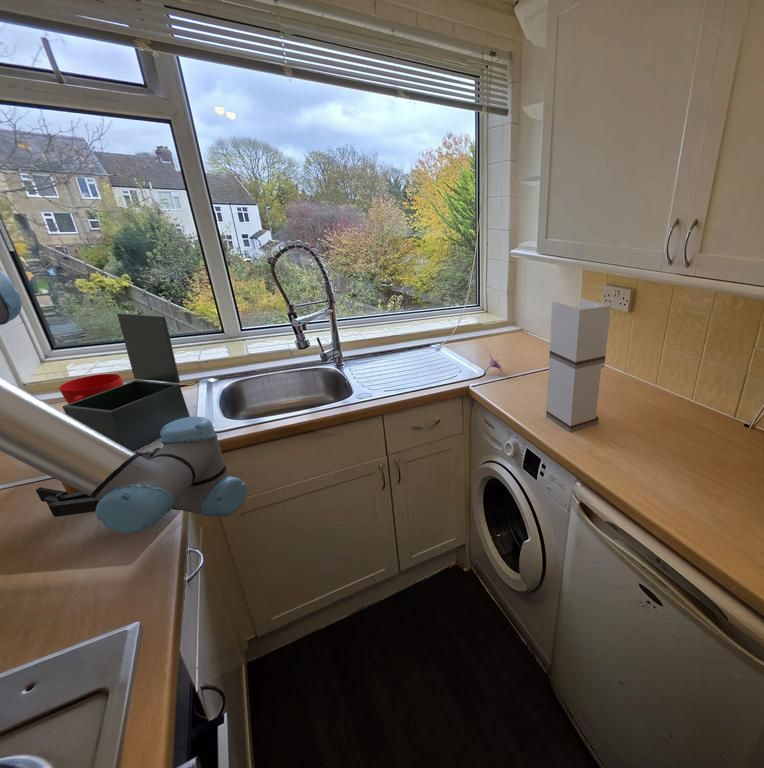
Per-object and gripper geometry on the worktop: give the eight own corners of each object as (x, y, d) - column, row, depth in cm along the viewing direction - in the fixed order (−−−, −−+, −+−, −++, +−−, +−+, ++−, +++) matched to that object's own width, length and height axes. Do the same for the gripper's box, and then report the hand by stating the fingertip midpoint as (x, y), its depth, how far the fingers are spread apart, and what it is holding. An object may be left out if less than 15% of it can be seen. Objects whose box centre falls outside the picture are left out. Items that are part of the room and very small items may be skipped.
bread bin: (127, 454, 101) (110, 412, 96) (81, 447, 103) (61, 406, 99) (191, 421, 117) (179, 384, 112) (150, 416, 119) (136, 379, 115)
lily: (499, 384, 149) (511, 361, 148) (471, 370, 149) (482, 346, 148) (502, 382, 161) (513, 360, 160) (475, 368, 161) (486, 347, 160)
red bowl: (56, 432, 110) (40, 399, 106) (85, 407, 124) (72, 377, 121) (117, 423, 115) (104, 391, 111) (138, 400, 129) (127, 371, 126)
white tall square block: (597, 423, 120) (611, 305, 106) (569, 432, 115) (579, 309, 101) (573, 408, 129) (582, 298, 115) (546, 416, 123) (552, 301, 110)
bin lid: (162, 316, 106) (165, 316, 107) (116, 313, 109) (120, 313, 109) (177, 383, 112) (180, 382, 113) (134, 378, 114) (137, 378, 115)
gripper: (104, 548, 70) (10, 530, 74) (224, 467, 93) (148, 456, 96) (87, 514, 67) (-9, 497, 71) (216, 439, 90) (137, 429, 94)
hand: (81, 473), depth 84 cm, fingers open, 13 cm apart
